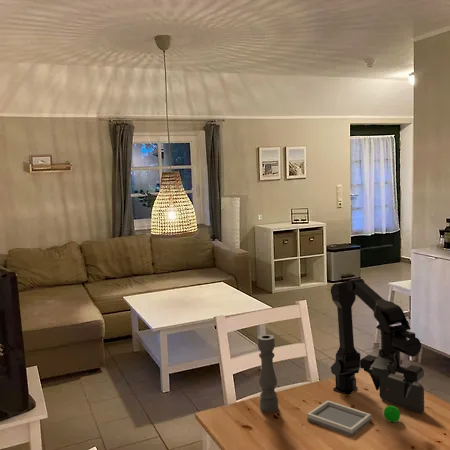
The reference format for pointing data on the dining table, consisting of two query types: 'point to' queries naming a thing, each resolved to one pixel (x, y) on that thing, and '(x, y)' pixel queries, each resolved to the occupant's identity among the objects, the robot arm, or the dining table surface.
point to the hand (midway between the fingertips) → (391, 393)
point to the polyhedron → (391, 413)
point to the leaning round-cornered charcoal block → (401, 393)
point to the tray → (339, 418)
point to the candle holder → (267, 374)
